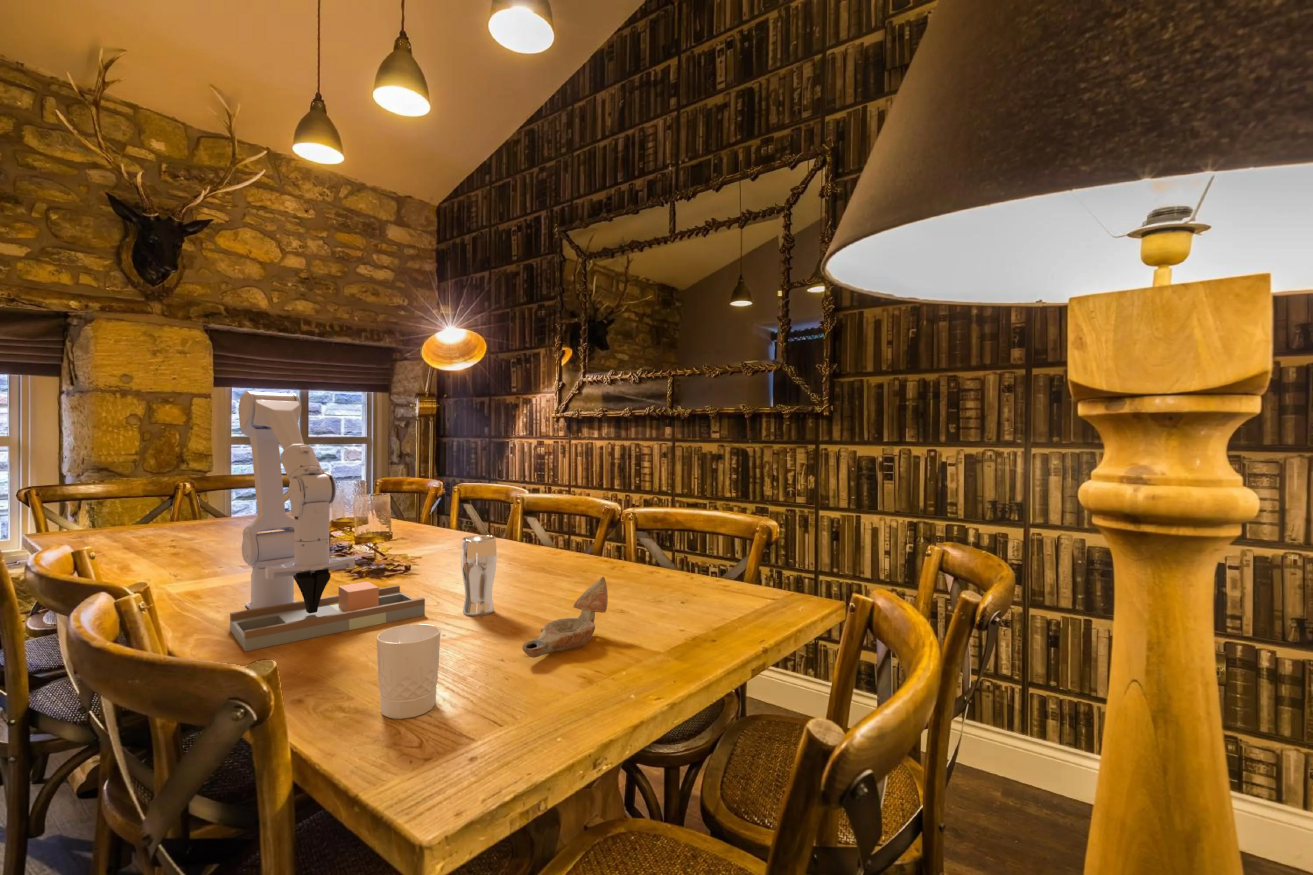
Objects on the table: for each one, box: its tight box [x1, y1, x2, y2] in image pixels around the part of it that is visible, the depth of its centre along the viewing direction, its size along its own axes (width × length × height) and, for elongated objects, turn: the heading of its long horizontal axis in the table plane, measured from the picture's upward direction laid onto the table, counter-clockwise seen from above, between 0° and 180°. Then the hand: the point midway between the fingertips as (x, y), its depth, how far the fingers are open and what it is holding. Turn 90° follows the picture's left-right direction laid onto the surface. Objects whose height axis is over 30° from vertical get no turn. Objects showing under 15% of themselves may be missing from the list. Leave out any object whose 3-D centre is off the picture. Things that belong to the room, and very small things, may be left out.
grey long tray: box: [229, 584, 426, 652], centre depth 116 cm, size 14×30×3 cm, turn 133°
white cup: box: [376, 623, 441, 720], centre depth 81 cm, size 8×8×10 cm
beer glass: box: [460, 534, 498, 617], centre depth 124 cm, size 7×7×15 cm
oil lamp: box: [521, 576, 609, 659], centre depth 105 cm, size 9×21×10 cm, turn 150°
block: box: [338, 581, 380, 612], centre depth 119 cm, size 6×6×4 cm
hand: (311, 611), depth 114 cm, fingers closed
